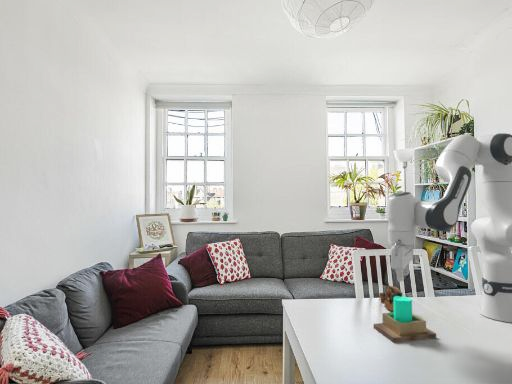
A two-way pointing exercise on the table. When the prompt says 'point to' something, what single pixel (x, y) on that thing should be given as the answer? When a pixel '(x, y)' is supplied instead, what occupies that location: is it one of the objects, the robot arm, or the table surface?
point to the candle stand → (403, 329)
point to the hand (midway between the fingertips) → (403, 277)
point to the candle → (402, 309)
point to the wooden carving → (390, 296)
